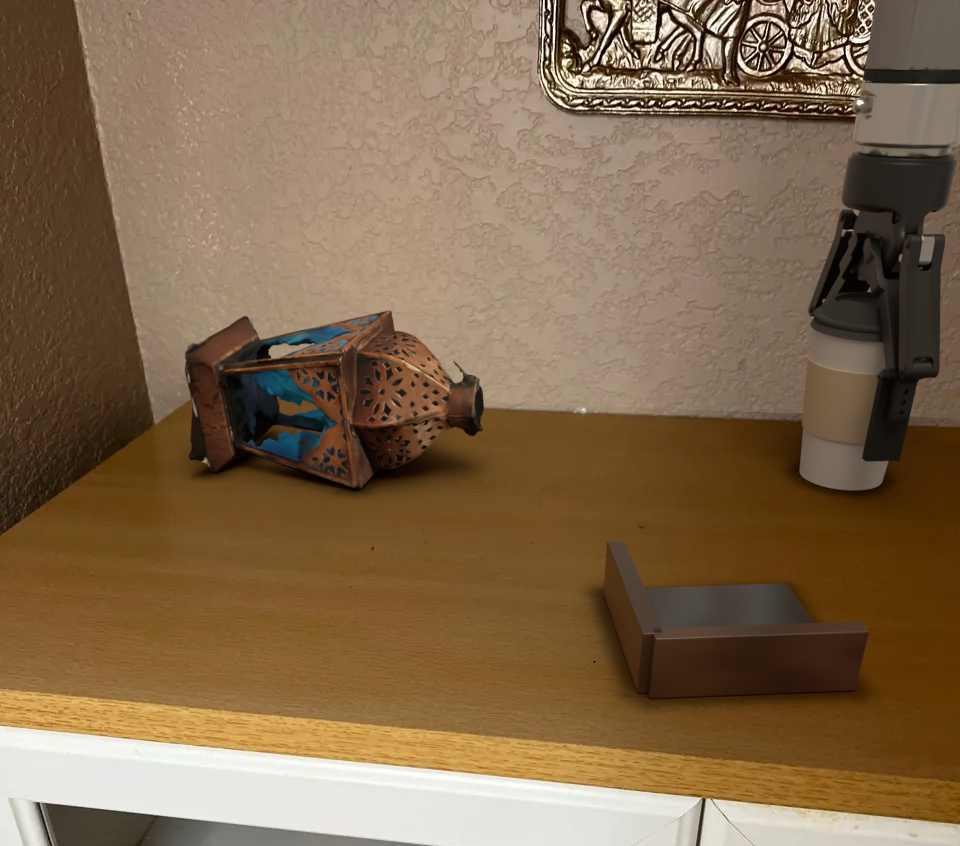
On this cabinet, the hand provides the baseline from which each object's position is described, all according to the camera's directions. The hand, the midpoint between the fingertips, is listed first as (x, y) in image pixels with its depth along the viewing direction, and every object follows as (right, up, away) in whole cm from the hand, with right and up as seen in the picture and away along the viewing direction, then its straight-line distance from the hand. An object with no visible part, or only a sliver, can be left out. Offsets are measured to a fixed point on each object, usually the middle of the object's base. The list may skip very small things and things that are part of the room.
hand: (847, 431), depth 83 cm
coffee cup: (0, -4, +2) cm, 4 cm away
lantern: (-43, -2, +5) cm, 43 cm away
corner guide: (-16, -17, -21) cm, 31 cm away
